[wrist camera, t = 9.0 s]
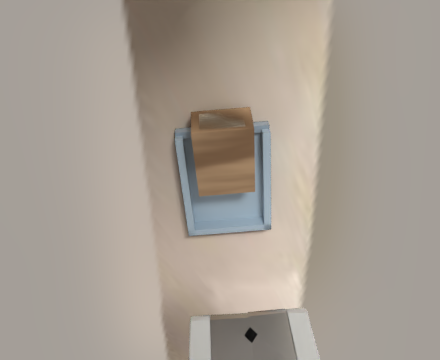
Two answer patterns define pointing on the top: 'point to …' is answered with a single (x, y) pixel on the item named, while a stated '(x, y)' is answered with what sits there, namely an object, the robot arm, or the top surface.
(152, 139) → the top surface
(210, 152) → the wooden block
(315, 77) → the top surface
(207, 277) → the top surface
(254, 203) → the tray
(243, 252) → the top surface
